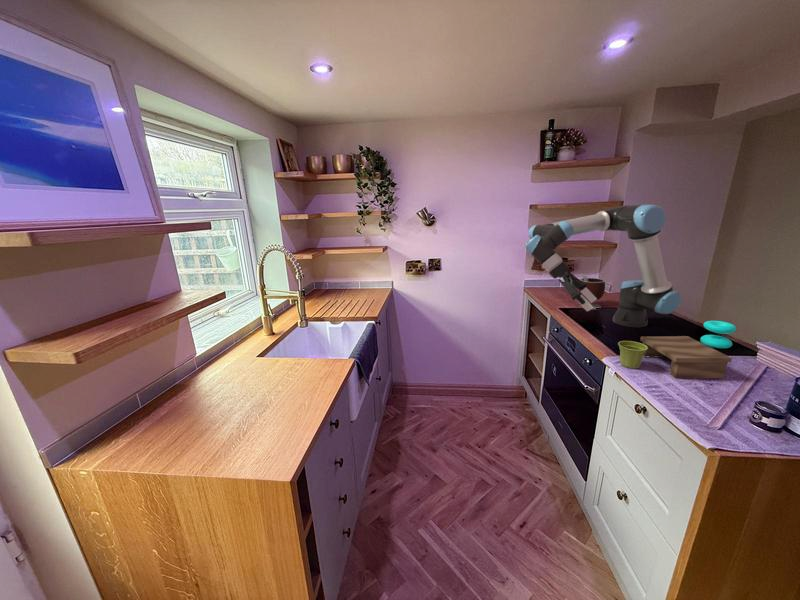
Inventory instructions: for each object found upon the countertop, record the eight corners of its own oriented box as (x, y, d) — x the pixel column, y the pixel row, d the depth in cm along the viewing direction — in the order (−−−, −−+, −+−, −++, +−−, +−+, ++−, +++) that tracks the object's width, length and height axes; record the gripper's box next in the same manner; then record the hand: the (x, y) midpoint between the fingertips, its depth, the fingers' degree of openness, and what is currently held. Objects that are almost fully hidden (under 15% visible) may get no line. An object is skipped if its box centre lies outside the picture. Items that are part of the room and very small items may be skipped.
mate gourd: (607, 307, 194) (611, 275, 188) (591, 311, 189) (595, 278, 183) (584, 301, 207) (588, 272, 202) (569, 304, 202) (572, 274, 197)
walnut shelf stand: (637, 353, 133) (640, 336, 131) (683, 353, 131) (687, 336, 129) (672, 378, 114) (676, 358, 112) (726, 378, 112) (731, 358, 110)
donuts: (698, 319, 141) (725, 319, 138) (694, 339, 144) (720, 340, 141) (714, 327, 132) (743, 328, 129) (709, 348, 134) (737, 350, 132)
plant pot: (610, 360, 129) (612, 340, 127) (633, 359, 129) (636, 340, 127) (625, 371, 120) (628, 350, 118) (650, 370, 120) (654, 349, 118)
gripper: (554, 267, 144) (587, 302, 139) (541, 277, 125) (580, 318, 120) (568, 256, 139) (603, 292, 135) (557, 265, 120) (597, 307, 116)
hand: (592, 305), depth 127 cm, fingers open, 13 cm apart
